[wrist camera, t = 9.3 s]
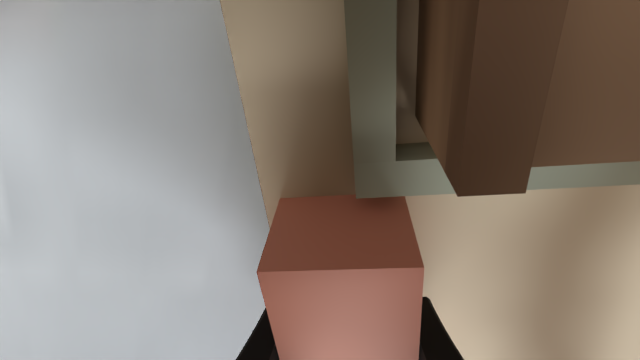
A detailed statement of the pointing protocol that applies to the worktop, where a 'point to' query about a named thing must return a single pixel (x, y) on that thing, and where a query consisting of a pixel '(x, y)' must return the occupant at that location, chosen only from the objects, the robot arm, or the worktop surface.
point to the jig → (438, 184)
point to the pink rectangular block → (343, 279)
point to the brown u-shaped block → (527, 87)
